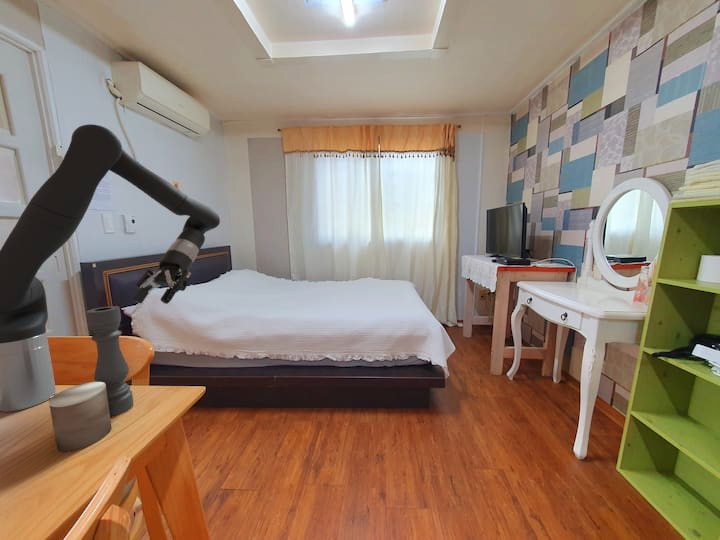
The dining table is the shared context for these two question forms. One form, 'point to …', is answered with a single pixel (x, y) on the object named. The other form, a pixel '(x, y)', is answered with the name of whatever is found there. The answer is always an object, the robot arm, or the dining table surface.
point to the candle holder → (110, 358)
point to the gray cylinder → (80, 416)
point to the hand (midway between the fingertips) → (150, 301)
